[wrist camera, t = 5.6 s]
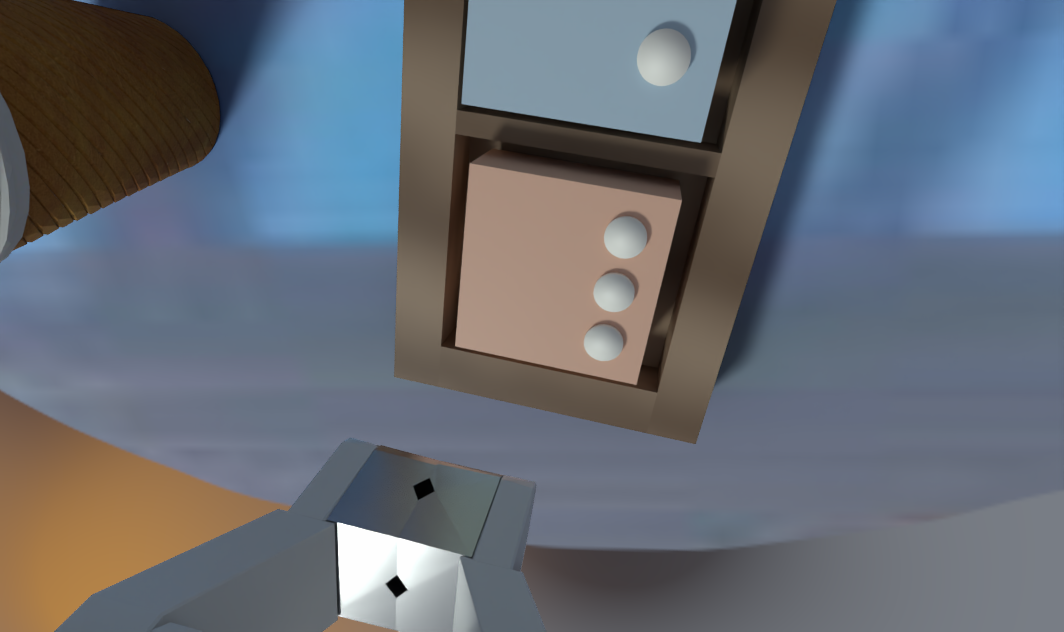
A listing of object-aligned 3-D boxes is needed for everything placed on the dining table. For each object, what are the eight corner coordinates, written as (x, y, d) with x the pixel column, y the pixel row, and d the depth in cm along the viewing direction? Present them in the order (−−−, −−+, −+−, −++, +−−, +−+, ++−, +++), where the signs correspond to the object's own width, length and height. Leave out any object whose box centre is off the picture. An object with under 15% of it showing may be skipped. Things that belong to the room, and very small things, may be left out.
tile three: (492, 148, 22) (467, 164, 19) (679, 180, 21) (682, 201, 18) (476, 313, 25) (453, 348, 22) (638, 347, 24) (636, 387, 21)
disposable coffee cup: (205, -54, 22) (-209, -143, 12) (284, 192, 26) (25, 297, 15) (16, -7, 25) (-476, -44, 14) (114, 214, 28) (-215, 318, 18)
